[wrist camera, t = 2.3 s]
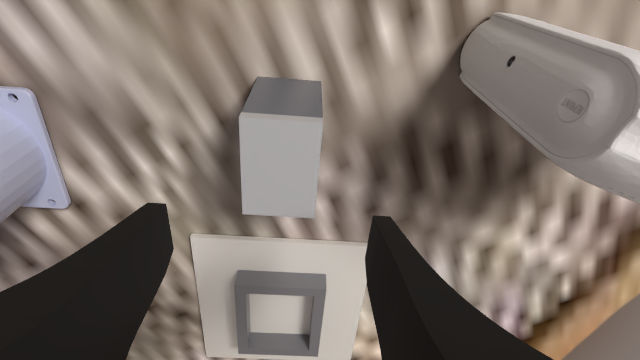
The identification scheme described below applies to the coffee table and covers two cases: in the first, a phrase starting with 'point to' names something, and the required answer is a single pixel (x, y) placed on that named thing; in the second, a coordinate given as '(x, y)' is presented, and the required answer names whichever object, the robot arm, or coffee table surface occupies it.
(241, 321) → the plate
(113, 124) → the coffee table surface
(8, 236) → the coffee table surface
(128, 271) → the robot arm
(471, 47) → the photo printer
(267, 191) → the block
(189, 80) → the coffee table surface
